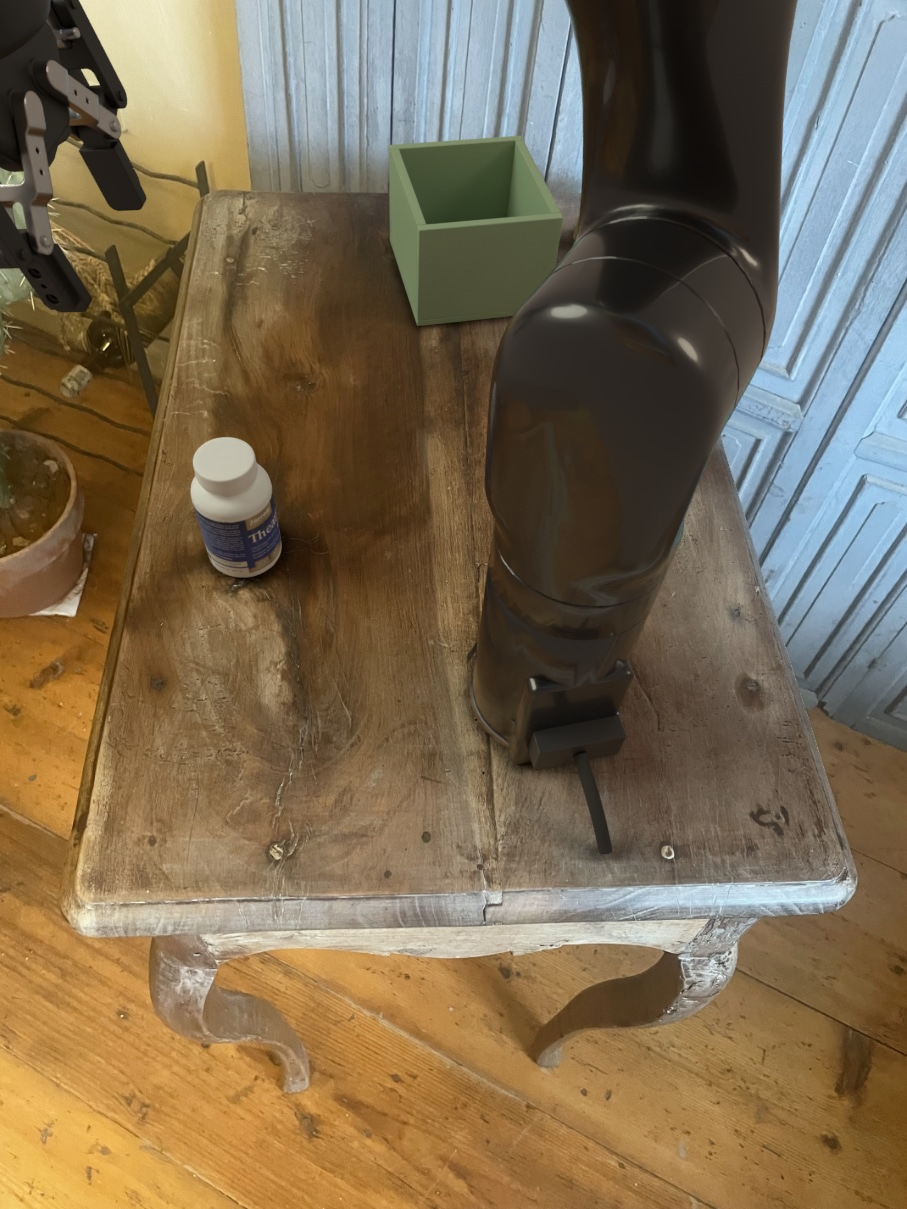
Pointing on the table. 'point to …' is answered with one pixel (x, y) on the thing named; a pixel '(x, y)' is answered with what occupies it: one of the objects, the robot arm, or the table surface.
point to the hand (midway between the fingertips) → (104, 254)
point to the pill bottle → (235, 508)
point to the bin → (470, 227)
